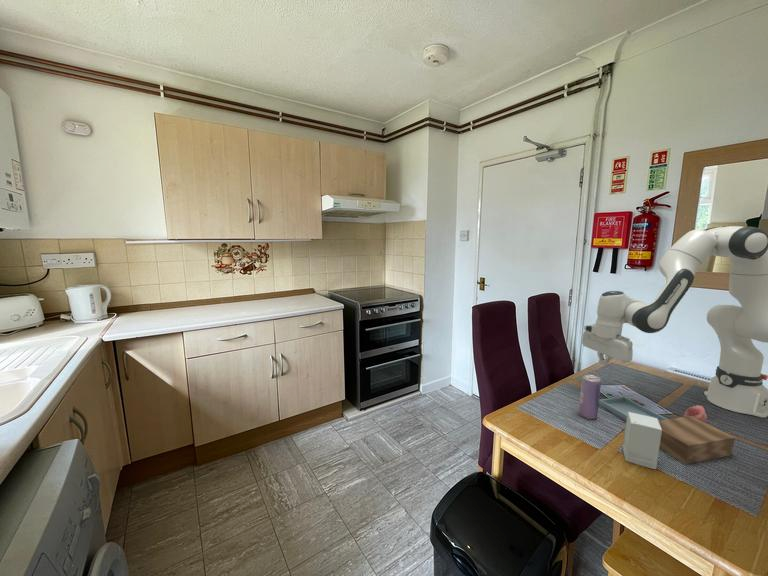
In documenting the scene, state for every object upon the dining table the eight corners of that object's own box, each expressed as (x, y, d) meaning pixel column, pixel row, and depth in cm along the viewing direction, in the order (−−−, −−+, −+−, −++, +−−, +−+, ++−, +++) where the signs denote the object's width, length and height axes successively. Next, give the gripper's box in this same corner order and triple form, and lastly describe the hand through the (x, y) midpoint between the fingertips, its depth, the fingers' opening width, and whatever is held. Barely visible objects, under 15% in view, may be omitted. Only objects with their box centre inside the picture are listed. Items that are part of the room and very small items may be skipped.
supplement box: (656, 470, 92) (662, 430, 90) (624, 461, 96) (629, 422, 94) (652, 455, 99) (658, 417, 97) (622, 447, 102) (627, 410, 100)
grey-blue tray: (623, 402, 130) (624, 396, 129) (674, 429, 112) (675, 423, 111) (598, 405, 127) (599, 399, 127) (646, 434, 109) (647, 427, 109)
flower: (714, 408, 114) (698, 397, 115) (716, 426, 109) (700, 415, 110) (692, 415, 120) (677, 405, 121) (693, 432, 115) (678, 422, 116)
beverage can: (600, 420, 117) (604, 382, 115) (581, 419, 118) (586, 380, 116) (592, 412, 123) (597, 375, 120) (575, 410, 124) (579, 373, 121)
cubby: (687, 432, 110) (690, 415, 109) (731, 455, 99) (735, 437, 98) (645, 439, 106) (647, 422, 106) (685, 464, 95) (688, 445, 94)
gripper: (639, 339, 119) (634, 374, 122) (593, 324, 139) (589, 354, 141) (625, 340, 118) (620, 375, 120) (581, 324, 138) (577, 355, 140)
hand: (603, 364), depth 131 cm, fingers closed
